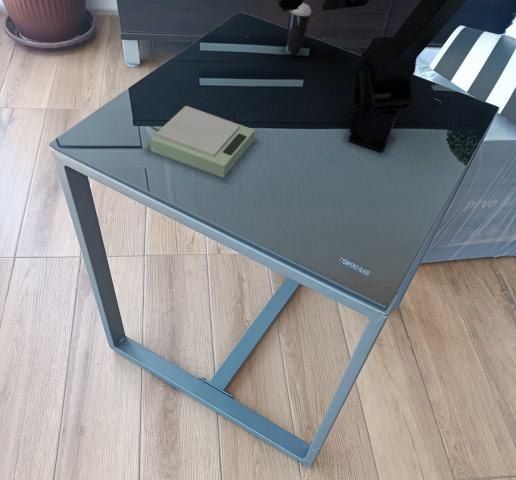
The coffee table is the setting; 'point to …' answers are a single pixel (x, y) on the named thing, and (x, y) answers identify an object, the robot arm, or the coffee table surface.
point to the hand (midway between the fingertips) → (303, 8)
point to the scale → (202, 141)
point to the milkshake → (297, 29)
